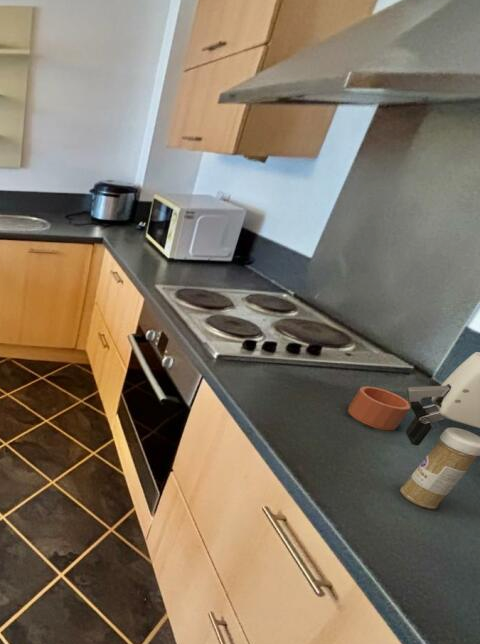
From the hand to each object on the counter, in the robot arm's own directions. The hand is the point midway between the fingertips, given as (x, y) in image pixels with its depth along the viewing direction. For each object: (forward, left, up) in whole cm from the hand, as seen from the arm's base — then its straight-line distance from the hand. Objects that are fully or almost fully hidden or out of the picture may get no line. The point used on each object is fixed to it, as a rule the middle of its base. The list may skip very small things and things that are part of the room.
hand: (453, 453), depth 64 cm
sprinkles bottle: (0, 0, -10) cm, 10 cm away
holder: (+2, -25, -10) cm, 27 cm away
